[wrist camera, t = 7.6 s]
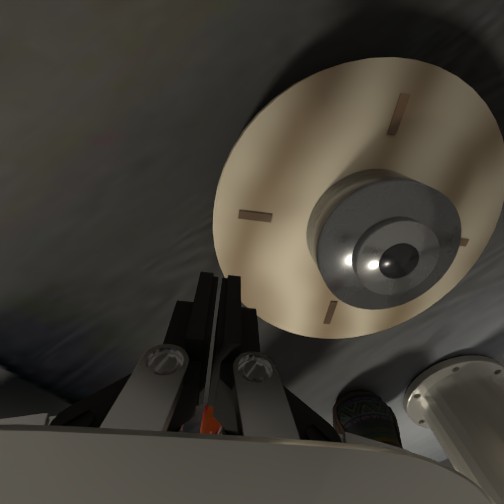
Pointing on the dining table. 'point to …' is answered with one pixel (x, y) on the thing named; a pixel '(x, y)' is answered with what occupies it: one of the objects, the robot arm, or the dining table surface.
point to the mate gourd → (366, 418)
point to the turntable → (341, 165)
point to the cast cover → (382, 238)
